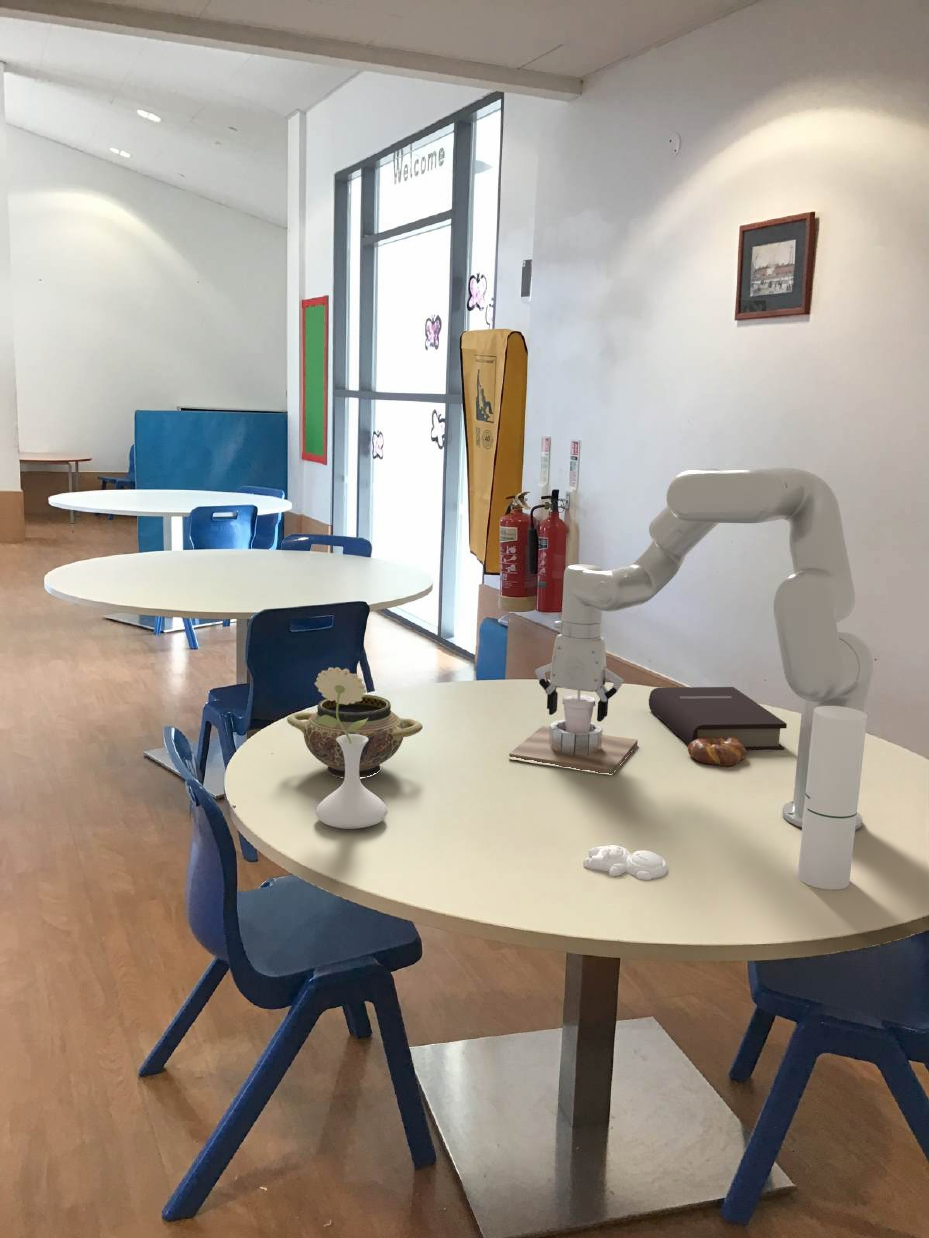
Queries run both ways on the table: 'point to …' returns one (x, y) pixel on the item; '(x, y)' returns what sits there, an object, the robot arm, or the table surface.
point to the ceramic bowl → (379, 730)
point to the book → (716, 716)
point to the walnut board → (599, 762)
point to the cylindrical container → (832, 796)
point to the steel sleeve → (575, 739)
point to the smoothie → (578, 712)
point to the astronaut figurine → (626, 862)
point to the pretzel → (717, 750)
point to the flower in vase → (347, 759)
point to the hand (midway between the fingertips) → (576, 716)
